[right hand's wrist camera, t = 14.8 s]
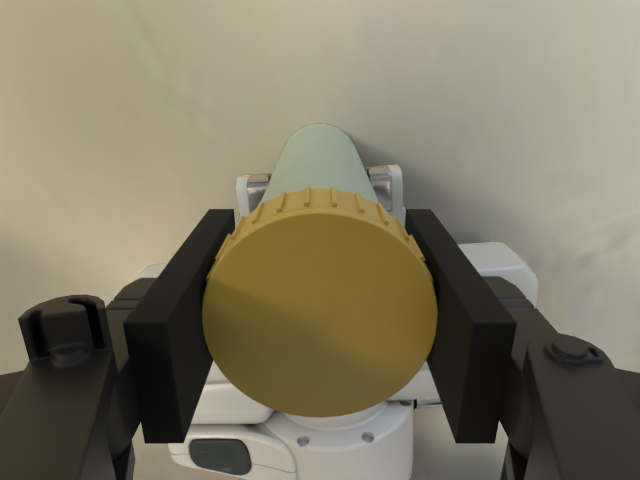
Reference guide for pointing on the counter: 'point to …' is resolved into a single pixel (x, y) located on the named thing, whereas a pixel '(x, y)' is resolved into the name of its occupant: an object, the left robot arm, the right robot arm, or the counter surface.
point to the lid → (319, 304)
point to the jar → (319, 164)
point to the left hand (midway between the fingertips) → (317, 172)
